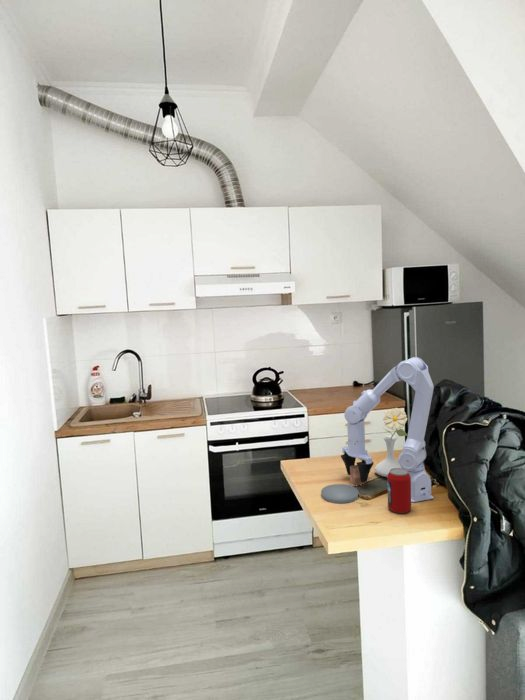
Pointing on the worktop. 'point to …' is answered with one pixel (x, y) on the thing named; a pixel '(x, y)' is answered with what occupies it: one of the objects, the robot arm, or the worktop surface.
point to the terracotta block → (355, 475)
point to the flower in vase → (391, 440)
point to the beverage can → (399, 490)
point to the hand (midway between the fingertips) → (357, 478)
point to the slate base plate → (339, 493)
